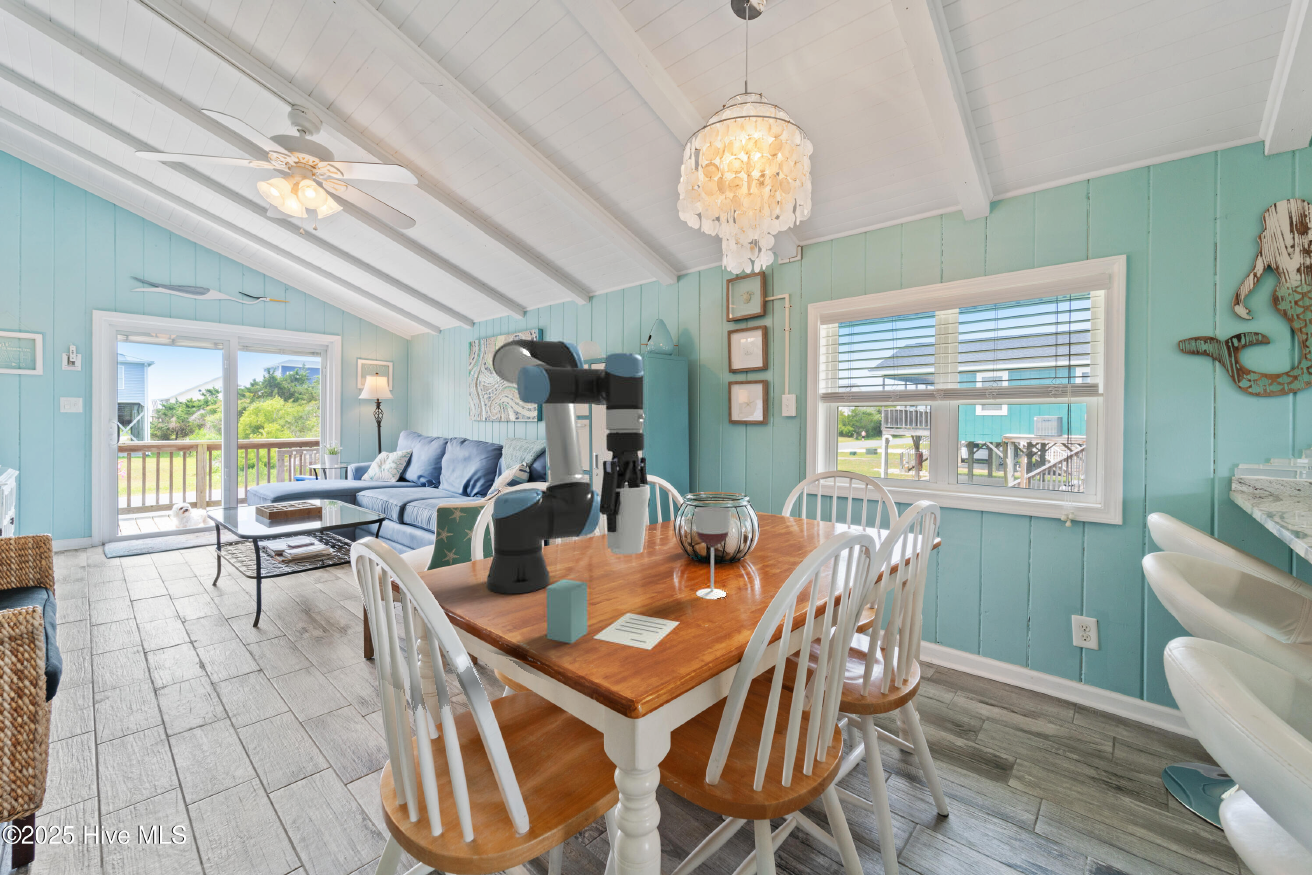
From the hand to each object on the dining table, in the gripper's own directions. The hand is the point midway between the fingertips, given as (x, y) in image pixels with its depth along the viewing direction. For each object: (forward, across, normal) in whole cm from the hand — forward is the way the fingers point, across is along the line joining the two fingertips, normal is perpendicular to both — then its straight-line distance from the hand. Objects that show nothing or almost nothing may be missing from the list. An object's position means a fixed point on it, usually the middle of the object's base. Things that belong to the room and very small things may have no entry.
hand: (626, 543), depth 109 cm
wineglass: (+17, +26, -9) cm, 32 cm away
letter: (+17, -1, -3) cm, 17 cm away
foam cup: (+2, 0, 0) cm, 2 cm away
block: (+17, -10, +8) cm, 21 cm away
